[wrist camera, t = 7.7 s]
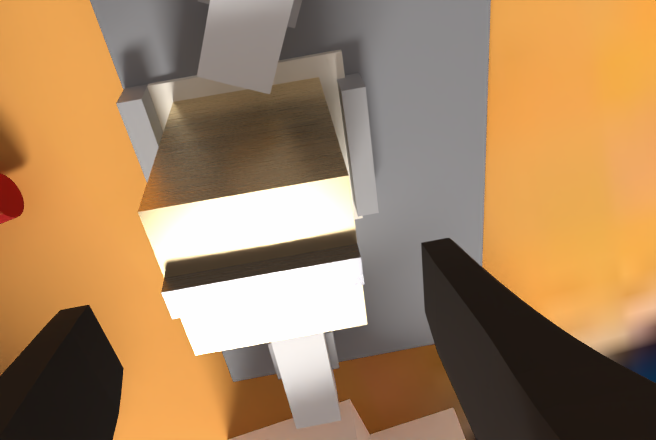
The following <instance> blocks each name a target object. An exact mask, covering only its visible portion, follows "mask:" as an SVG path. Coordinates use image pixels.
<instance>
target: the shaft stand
mask: <svg viewBox="0 0 656 440" xmlns="http://www.w3.org/2000/svg"><path fill="white" fill-rule="evenodd" d="M490 1H491V0H90V2H91V4H92V7H93V10H94V12H95V15H96V18H97V20H98V23H99V26H100V28H101V31H102V34H103V36H104V39H105V42H106V44H107V47H108V50H109V52H110V55H111V58H112V60H113V63H114V65H115V68H116V71H117V73H118V76H119V79H120V81H121V84H122V87H123V89H124V90H123V92H122V94H121V96H120V98H119V99H118V101H117V103H116V104H117V107H118V109H119V112H120V114H121V117H122V120H123V122H124V125H125V127H126V130H127V132H128V135H129V137H130V140H131V143H132V145H133V148H134V150H135V153H136V155H137V158H138V161H139V163H140V166H141V168H142V171H143V173H144V176H145V179H146V181H147V182H148V179H149V176H150V173H151V169H152V166H153V163H154V160H155V157H156V154H157V151H158V147H159V144H160V141H161V138H162V135H163V132H164V129H165V126H166V122H167V119H168V116H169V113H170V110H171V107H172V104H173V102H175V101H181V100H187V99H193V98H199V97H205V96H211V95H216V94H222V93H228V92H234V91H240V90H246V89H250V90H254V91H258V92H262V93H266V94H270V92H271V89H272V85H275V84H281V83H287V82H293V81H299V80H305V79H311V78H317V77H319V79H320V82H321V85H322V89H323V92H324V95H325V99H326V102H327V105H328V109H329V112H330V115H331V118H332V122H333V125H334V128H335V132H336V135H337V138H338V142H339V145H340V148H341V151H342V155H343V158H344V161H345V165H346V168H347V171H348V174H349V181H350V189H351V197H352V205H353V213H354V221H355V229H356V237H357V244H358V248H359V252H360V255H361V261H362V269H363V278H364V285H363V293H364V301H365V309H366V317H367V325H361V326H355V327H350V328H344V329H339V330H333V331H328V332H322V333H317V334H311V335H305V336H300V337H294V338H289V339H283V340H278V341H272V342H267V343H261V344H256V345H250V346H244V347H239V348H233V349H228V350H222V353H223V356H224V358H225V361H226V364H227V366H228V369H229V372H230V374H231V377H232V380H233V382H235V381H241V380H246V379H251V378H257V377H262V376H267V375H273V374H277V377H278V379H282V381H283V385H284V388H285V392H286V395H287V398H288V402H289V405H290V409H291V412H292V416H293V419H294V422H295V426H296V429H299V428H305V427H310V426H315V425H320V424H326V423H331V422H336V421H341V414H340V408H339V402H338V395H337V389H336V383H335V378H334V373H333V369H337V368H339V362H342V361H347V360H352V359H357V358H363V357H368V356H373V355H379V354H384V353H389V352H395V351H400V350H405V349H411V348H416V347H421V346H426V345H432V344H435V343H434V340H433V337H432V334H431V330H430V327H429V324H428V321H427V317H426V314H425V308H424V289H423V270H422V251H421V243H422V242H428V241H433V240H438V239H444V238H450V239H452V240H453V241H454V242H455V243H456V244H458V245H459V246H460V247H461V248H462V249H463V250H464V251H465V252H466V253H467V254H468V255H469V256H470V257H472V258H473V259H474V260H475V261H476V262H477V263H478V264H479V265H480V266H482V251H483V220H484V189H485V157H486V126H487V95H488V64H489V32H490Z"/></svg>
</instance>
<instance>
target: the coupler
mask: <svg viewBox="0 0 656 440" xmlns="http://www.w3.org/2000/svg"><path fill="white" fill-rule="evenodd" d="M138 214H139V216H140V219H141V221H142V224H143V226H144V228H145V231H146V233H147V236H148V238H149V241H150V243H151V246H152V248H153V251H154V253H155V256H156V258H157V261H158V263H159V266H160V268H161V271H162V273H163V276H164V282H163V287H162V292H161V293H162V296H163V298H164V300H165V303H166V305H167V308H168V310H169V312H170V315H171V317H172V319H174V318H181V320H182V323H183V325H184V328H185V330H186V333H187V335H188V337H189V340H190V342H191V345H192V347H193V350H194V352H195V355H200V354H206V353H211V352H217V351H222V350H228V349H233V348H239V347H244V346H250V345H256V344H261V343H267V342H272V341H278V340H283V339H289V338H294V337H300V336H305V335H311V334H317V333H322V332H328V331H333V330H339V329H344V328H350V327H355V326H361V325H367V317H366V309H365V301H364V293H363V285H364V278H363V269H362V261H361V255H360V252H359V248H358V244H357V237H356V229H355V221H354V213H353V205H352V197H351V189H350V181H349V174H348V171H347V168H346V165H345V161H344V158H343V155H342V151H341V148H340V145H339V142H338V138H337V135H336V132H335V128H334V125H333V122H332V118H331V115H330V112H329V109H328V105H327V102H326V99H325V95H324V92H323V89H322V85H321V82H320V79H319V77H317V78H311V79H305V80H299V81H293V82H287V83H281V84H275V85H272V89H271V92H270V94H266V93H262V92H258V91H254V90H250V89H246V90H240V91H234V92H228V93H222V94H216V95H211V96H205V97H199V98H193V99H187V100H181V101H175V102H173V104H172V107H171V110H170V113H169V116H168V119H167V122H166V126H165V129H164V132H163V135H162V138H161V141H160V144H159V147H158V151H157V154H156V157H155V160H154V163H153V166H152V169H151V173H150V176H149V179H148V182H147V185H146V188H145V191H144V194H143V198H142V201H141V204H140V207H139V210H138Z"/></svg>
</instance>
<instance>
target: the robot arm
mask: <svg viewBox="0 0 656 440" xmlns="http://www.w3.org/2000/svg"><path fill="white" fill-rule="evenodd" d="M421 251H422V270H423V289H424V308H425V314H426V317H427V321H428V324H429V327H430V330H431V334H432V337H433V340H434V343H435V346H436V349H437V352H438V355H439V357H440V359H441V361H442V364H443V366H444V368H445V370H446V373H447V375H448V377H449V380H450V382H451V384H452V386H453V388H454V391H455V393H456V395H457V397H458V400H459V402H460V404H461V406H462V408H463V411H464V413H465V415H466V417H467V420H468V422H469V424H470V426H471V428H472V431H473V433H474V435H475V437H476V440H656V383H654V382H652V381H650V380H649V379H647V378H645V377H643V376H641V375H639V374H637V373H635V372H633V371H631V370H629V369H627V368H625V367H623V366H622V365H620V364H618V363H616V362H614V361H613V360H611V359H609V358H607V357H606V356H604V355H602V354H600V353H599V352H597V351H595V350H594V349H592V348H591V347H589V346H587V345H586V344H584V343H582V342H581V341H579V340H577V339H576V338H574V337H573V336H571V335H570V334H568V333H567V332H565V331H564V330H562V329H561V328H559V327H558V326H557V325H555V324H554V323H552V322H551V321H550V320H548V319H547V318H545V317H544V316H543V315H541V314H540V313H538V312H537V311H536V310H534V309H533V308H532V307H530V306H529V305H528V304H526V303H525V302H524V301H522V300H521V299H520V298H519V297H518V296H516V295H515V294H514V293H513V292H511V291H510V290H509V289H508V288H506V287H505V286H504V285H503V284H501V283H500V282H499V281H498V280H497V279H495V278H494V277H493V276H492V275H491V274H490V273H488V272H487V271H486V270H485V269H484V268H483V267H482V266H480V265H479V264H478V263H477V262H476V261H475V260H474V259H473V258H472V257H470V256H469V255H468V254H467V253H466V252H465V251H464V250H463V249H462V248H461V247H460V246H459V245H458V244H456V243H455V242H454V241H453V240H452V239H450V238H444V239H438V240H433V241H428V242H422V243H421ZM122 379H123V367H122V365H121V363H120V361H119V359H118V357H117V356H116V354H115V352H114V350H113V348H112V346H111V344H110V343H109V341H108V339H107V337H106V335H105V333H104V332H103V330H102V328H101V326H100V324H99V322H98V321H97V319H96V317H95V315H94V313H93V311H92V309H91V308H90V306H89V305H85V306H80V307H75V308H69V309H64V310H60V311H59V312H58V313H57V314H56V315H55V316H54V317H53V318H52V319H51V320H50V322H49V323H48V324H47V325H46V326H45V327H44V328H43V329H42V330H41V331H40V333H39V334H38V335H37V336H36V337H35V338H34V339H33V340H32V341H31V343H30V344H29V345H28V346H27V347H26V348H25V349H24V350H23V352H22V353H21V354H20V355H19V356H18V357H17V358H16V359H15V361H14V362H13V363H12V364H11V365H10V366H9V367H8V368H7V369H6V371H5V372H4V373H3V374H2V375H1V376H0V440H113V436H114V432H115V427H116V423H117V419H118V414H119V407H120V399H121V390H122Z"/></svg>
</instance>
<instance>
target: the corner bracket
mask: <svg viewBox="0 0 656 440" xmlns="http://www.w3.org/2000/svg"><path fill="white" fill-rule="evenodd" d="M339 408H340V414H341V421H336V422H331V423H326V424H320V425H315V426H310V427H305V428H299V429H296V426H295V422H294V419H293V418H291V419H288V420H285V421H282V422H279V423H276V424H273V425H270V426H267V427H264V428H261V429H258V430H255V431H252V432H249V433H246V434H243V435H240V436H237V437H234V438H231V439H228V440H466V439H465V436H464V434H463V431H462V428H461V426H460V423H459V420H458V418H457V415H456V412H455V410H454V407H453V408H450V409H447V410H444V411H441V412H438V413H435V414H431V415H428V416H425V417H422V418H419V419H416V420H413V421H410V422H407V423H404V424H401V425H397V426H394V427H391V428H388V429H385V430H382V431H379V432H376V433H373V434H369V432H368V430H367V429H366V427H365V425H364V423H363V422H362V420H361V418H360V416H359V414H358V413H357V411H356V409H355V407H354V406H353V404H352V402H351V400H350V399H348V400H345V401H342V402H339Z"/></svg>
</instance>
